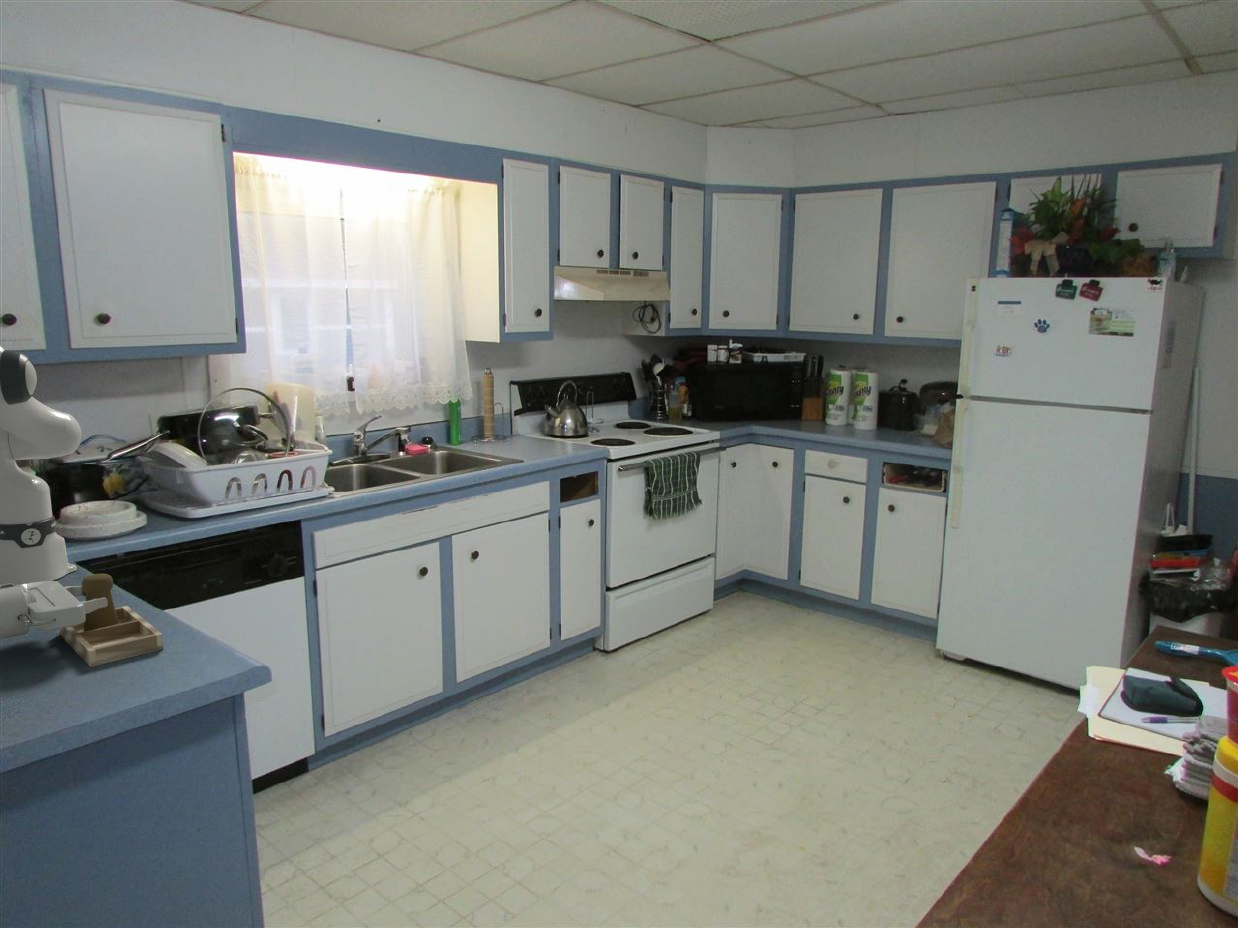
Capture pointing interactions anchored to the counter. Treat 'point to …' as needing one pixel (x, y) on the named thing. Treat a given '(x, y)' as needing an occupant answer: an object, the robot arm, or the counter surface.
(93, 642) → the caddy
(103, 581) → the cork
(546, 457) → the counter surface
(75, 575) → the counter surface
